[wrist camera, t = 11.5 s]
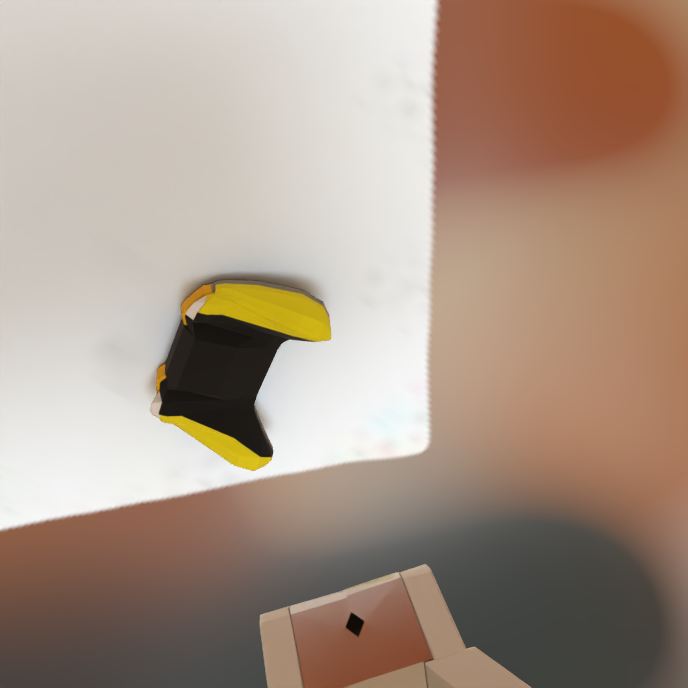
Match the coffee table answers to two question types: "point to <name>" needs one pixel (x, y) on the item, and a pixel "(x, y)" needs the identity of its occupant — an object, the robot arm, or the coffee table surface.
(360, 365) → the coffee table surface
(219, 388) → the gaming controller
